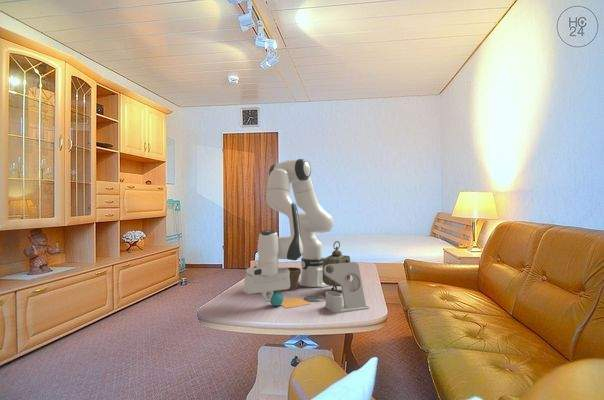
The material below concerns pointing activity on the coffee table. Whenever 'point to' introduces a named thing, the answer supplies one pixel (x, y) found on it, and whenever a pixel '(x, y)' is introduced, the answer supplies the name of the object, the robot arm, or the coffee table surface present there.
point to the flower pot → (294, 277)
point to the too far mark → (314, 298)
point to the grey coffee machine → (345, 288)
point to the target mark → (293, 302)
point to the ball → (276, 298)
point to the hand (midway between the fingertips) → (267, 301)
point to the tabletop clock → (334, 259)
